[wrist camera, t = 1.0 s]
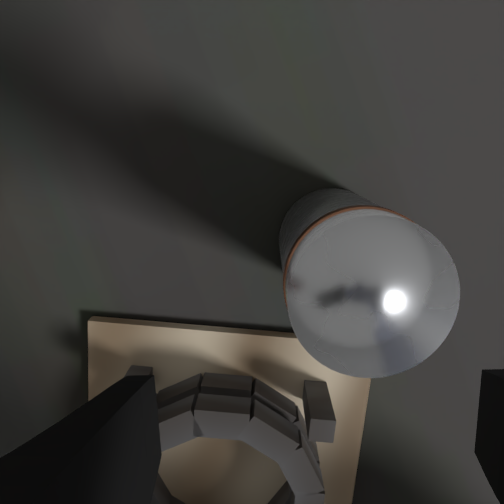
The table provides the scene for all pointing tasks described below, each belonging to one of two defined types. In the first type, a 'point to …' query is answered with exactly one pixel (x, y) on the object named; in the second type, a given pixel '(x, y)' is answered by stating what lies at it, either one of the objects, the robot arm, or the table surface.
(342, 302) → the grey cylinder
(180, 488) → the collar plate
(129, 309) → the table surface
